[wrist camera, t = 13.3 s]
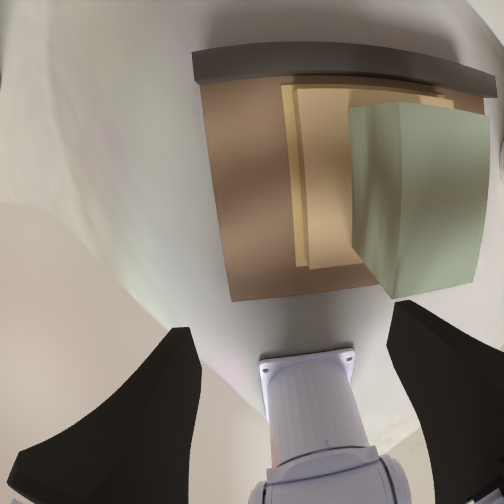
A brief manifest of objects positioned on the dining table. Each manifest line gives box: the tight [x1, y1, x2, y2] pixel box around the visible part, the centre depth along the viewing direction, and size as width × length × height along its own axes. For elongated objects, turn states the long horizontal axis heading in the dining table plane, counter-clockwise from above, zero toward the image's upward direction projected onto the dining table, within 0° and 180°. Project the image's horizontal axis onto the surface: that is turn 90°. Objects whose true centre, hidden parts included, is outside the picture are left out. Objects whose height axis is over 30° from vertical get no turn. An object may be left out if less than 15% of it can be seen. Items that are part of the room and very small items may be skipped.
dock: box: [192, 42, 498, 302], centre depth 15 cm, size 14×18×4 cm
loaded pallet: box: [292, 88, 490, 299], centre depth 11 cm, size 9×9×6 cm
